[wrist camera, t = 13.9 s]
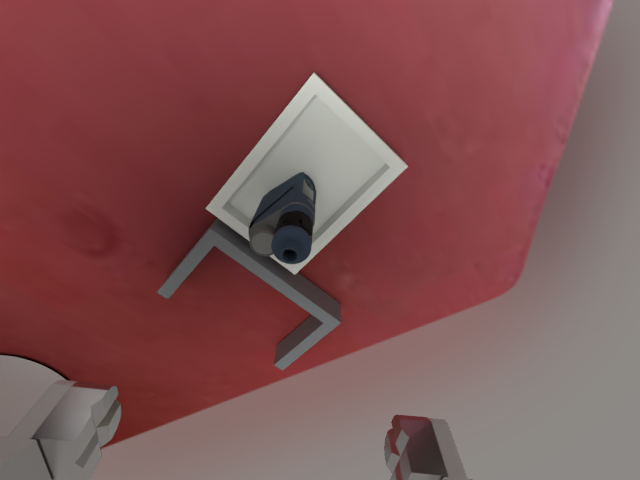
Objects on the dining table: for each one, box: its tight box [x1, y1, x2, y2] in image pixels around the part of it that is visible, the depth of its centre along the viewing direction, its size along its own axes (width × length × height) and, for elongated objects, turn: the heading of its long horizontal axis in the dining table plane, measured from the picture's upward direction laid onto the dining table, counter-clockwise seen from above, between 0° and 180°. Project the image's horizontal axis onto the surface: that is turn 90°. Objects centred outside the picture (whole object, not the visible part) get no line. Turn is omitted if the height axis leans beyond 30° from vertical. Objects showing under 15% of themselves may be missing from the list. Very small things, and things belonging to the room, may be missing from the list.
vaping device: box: [249, 172, 317, 264], centre depth 24 cm, size 3×5×12 cm, turn 122°
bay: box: [157, 218, 341, 370], centre depth 34 cm, size 9×15×3 cm, turn 48°
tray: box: [205, 72, 408, 275], centre depth 29 cm, size 14×10×2 cm
